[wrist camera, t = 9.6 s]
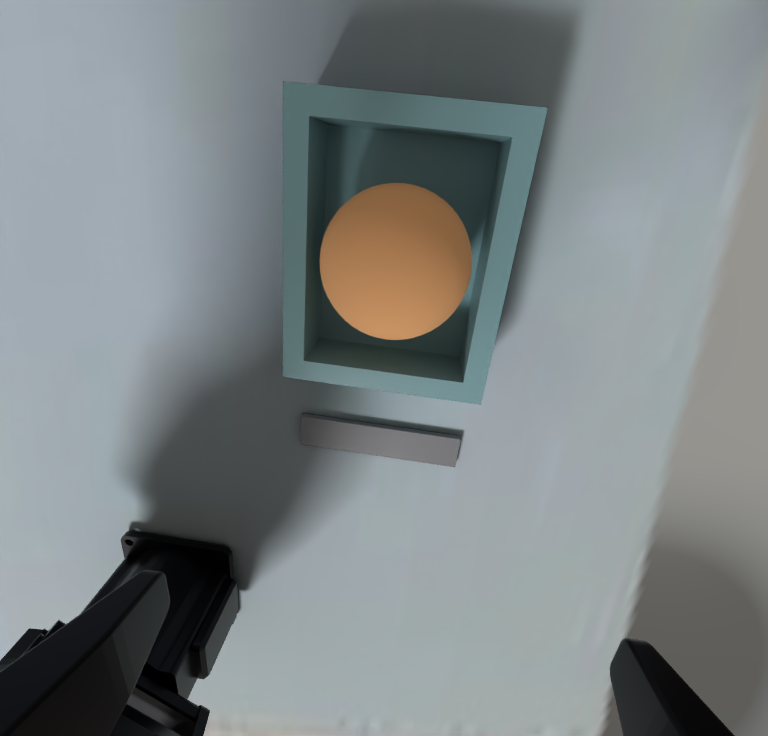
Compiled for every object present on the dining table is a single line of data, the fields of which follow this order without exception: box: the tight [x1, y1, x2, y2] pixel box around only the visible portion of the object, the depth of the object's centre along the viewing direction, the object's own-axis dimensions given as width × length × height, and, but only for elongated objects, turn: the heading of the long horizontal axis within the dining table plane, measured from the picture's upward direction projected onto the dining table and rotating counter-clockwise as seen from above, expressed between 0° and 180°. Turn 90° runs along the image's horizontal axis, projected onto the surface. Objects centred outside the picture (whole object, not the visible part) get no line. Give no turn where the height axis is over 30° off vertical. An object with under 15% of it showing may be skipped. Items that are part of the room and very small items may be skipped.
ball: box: [320, 183, 472, 340], centre depth 14 cm, size 5×5×5 cm
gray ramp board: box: [301, 413, 461, 467], centre depth 20 cm, size 8×2×1 cm, turn 84°
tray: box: [283, 81, 548, 405], centre depth 15 cm, size 8×10×3 cm
